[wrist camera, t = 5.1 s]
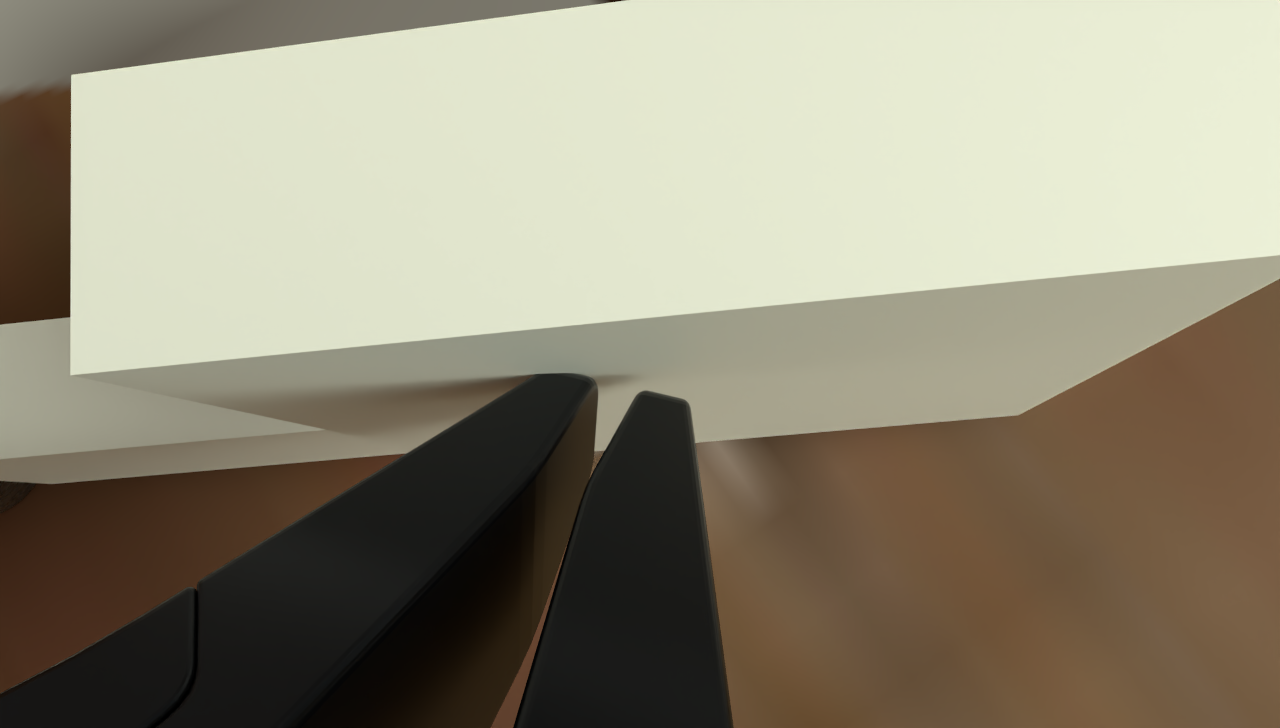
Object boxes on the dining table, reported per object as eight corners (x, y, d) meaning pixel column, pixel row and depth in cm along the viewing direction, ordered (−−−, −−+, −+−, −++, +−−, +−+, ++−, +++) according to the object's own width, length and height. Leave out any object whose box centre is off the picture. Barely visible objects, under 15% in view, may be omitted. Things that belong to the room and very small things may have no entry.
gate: (51, 497, 17) (-789, 461, 8) (53, 365, 17) (-757, 186, 8) (1018, 415, 15) (1334, 249, 6) (999, 270, 16) (1277, -88, 7)
